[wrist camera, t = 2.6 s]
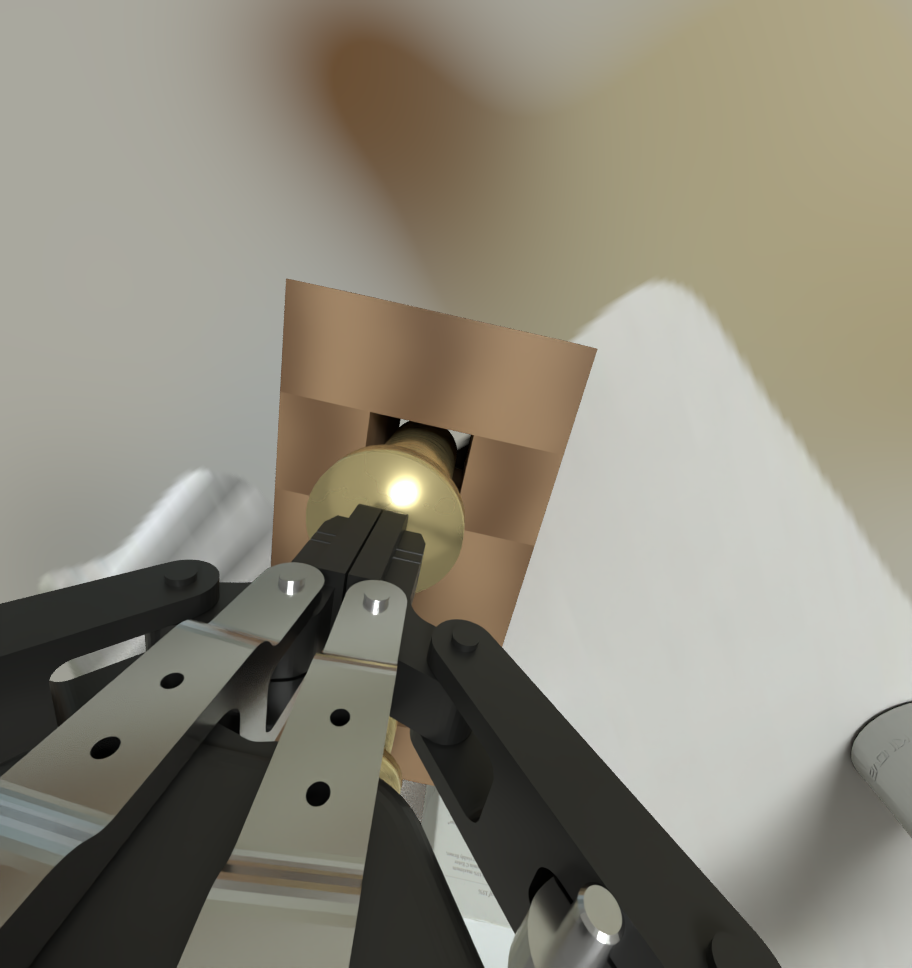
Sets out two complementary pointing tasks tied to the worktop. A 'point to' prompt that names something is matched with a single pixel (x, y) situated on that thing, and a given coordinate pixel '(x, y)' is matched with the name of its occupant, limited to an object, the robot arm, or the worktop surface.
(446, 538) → the plunger
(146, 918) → the robot arm
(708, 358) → the worktop surface
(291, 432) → the socket block
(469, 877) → the small box
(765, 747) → the worktop surface
